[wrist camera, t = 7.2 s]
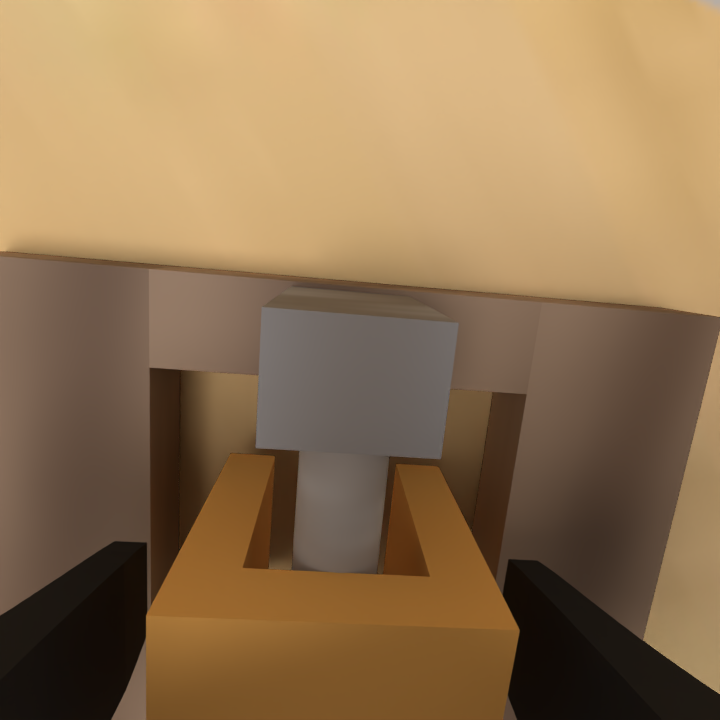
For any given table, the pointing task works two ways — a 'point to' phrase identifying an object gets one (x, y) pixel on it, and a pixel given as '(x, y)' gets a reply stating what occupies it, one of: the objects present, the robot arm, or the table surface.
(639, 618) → the slotted shelf
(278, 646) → the orange slotted block
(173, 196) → the table surface
